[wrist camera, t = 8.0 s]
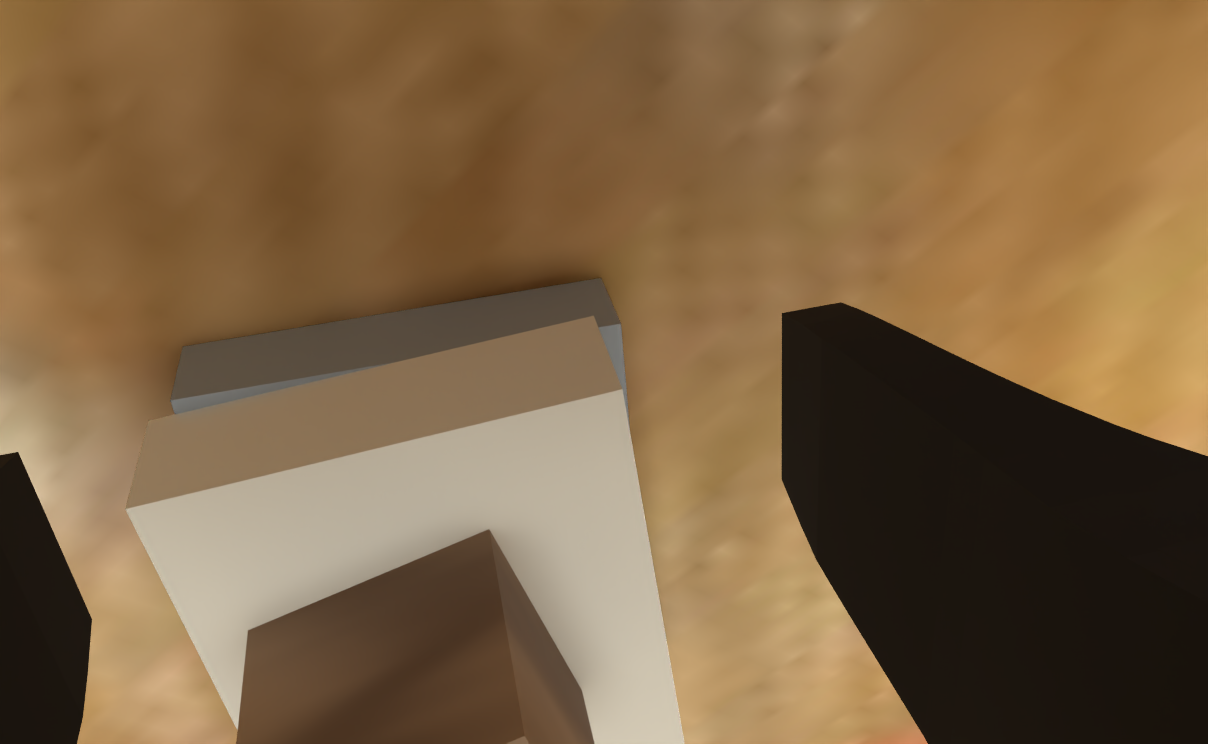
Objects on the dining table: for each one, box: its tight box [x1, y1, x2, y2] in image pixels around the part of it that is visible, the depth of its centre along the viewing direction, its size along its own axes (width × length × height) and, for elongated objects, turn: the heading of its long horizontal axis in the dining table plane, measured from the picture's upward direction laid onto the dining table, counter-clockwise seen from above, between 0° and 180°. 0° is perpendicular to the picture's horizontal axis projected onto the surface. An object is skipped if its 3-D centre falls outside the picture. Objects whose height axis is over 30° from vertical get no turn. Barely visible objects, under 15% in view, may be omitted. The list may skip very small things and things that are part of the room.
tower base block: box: [170, 278, 630, 429], centre depth 24 cm, size 8×10×2 cm
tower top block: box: [125, 316, 685, 744], centre depth 22 cm, size 8×10×2 cm
